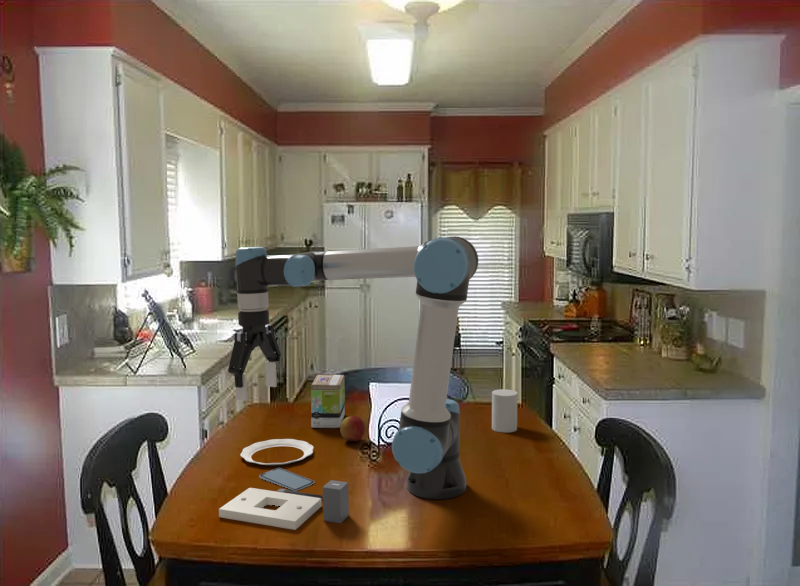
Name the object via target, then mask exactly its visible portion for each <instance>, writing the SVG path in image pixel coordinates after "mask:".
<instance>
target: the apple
mask: <svg viewBox="0 0 800 586" xmlns="http://www.w3.org/2000/svg"><path fill="white" fill-rule="evenodd" d="M339 429H340V435H341V437H342V438H343V439H345V440H347V441H350V442H359V441H360V440H361V439H362V438H363V436H364V434H365V423H364V421H363V419H362V418H361V417H359V416H356V415H349V416H346V417H345V418H343V420H342V423H341V426H340V428H339Z"/></svg>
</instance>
